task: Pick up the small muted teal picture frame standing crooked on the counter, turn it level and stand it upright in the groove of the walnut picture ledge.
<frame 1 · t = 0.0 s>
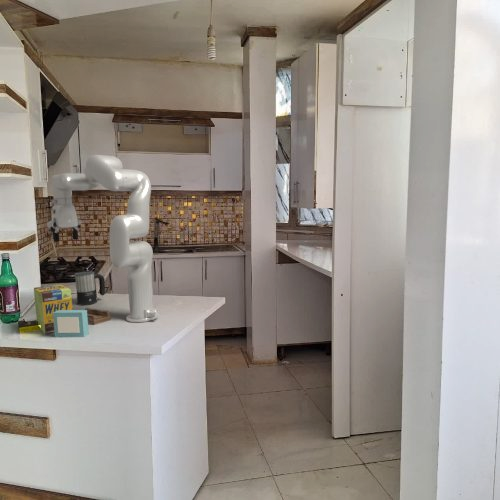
hand: (66, 240, 200), 31 cm above the countertop, tool pointing down, fingers open, 9 cm apart
protein box: (55, 328, 171), on the countertop
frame: (72, 335, 160), on the countertop
milk frother: (86, 302, 216), on the countertop
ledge: (90, 320, 180), on the countertop
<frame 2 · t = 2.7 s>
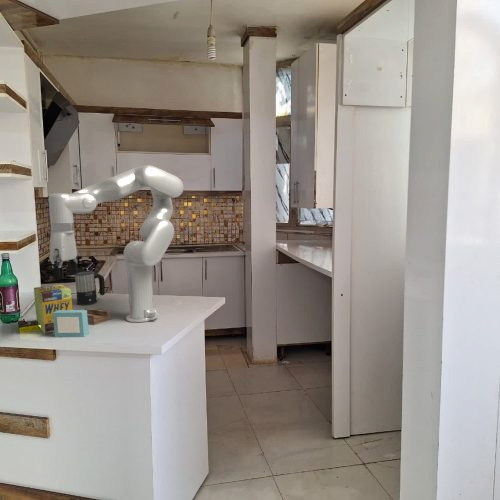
hand: (66, 276, 157), 22 cm above the countertop, tool pointing down, fingers open, 9 cm apart
nothing on the countertop moved.
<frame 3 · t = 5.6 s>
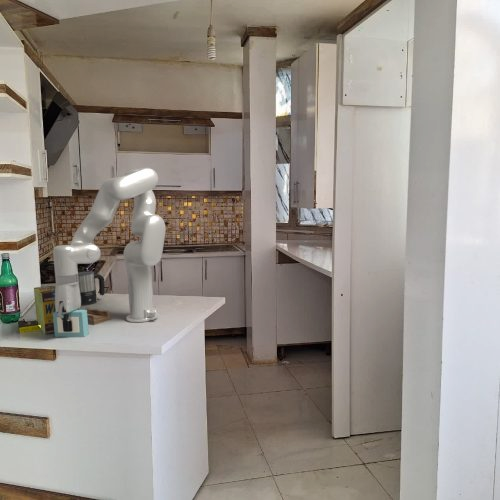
hand: (71, 329, 160), 2 cm above the countertop, tool pointing down, fingers closed on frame, 4 cm apart
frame: (71, 335, 160), on the countertop, touching gripper
everything else where it was.
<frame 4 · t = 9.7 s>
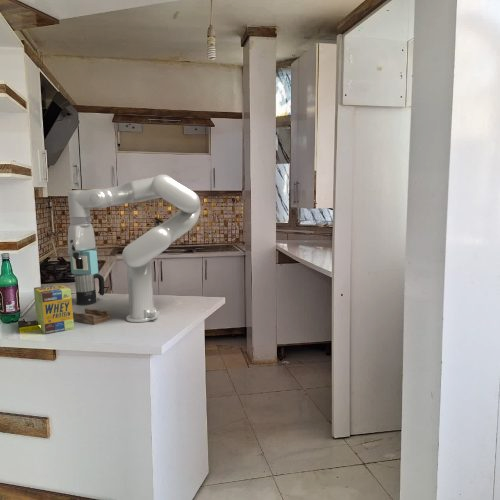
hand: (84, 267, 175), 22 cm above the countertop, tool pointing down, fingers closed on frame, 4 cm apart
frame: (84, 273, 175), point 20 cm above the countertop, touching gripper
everything else where it was.
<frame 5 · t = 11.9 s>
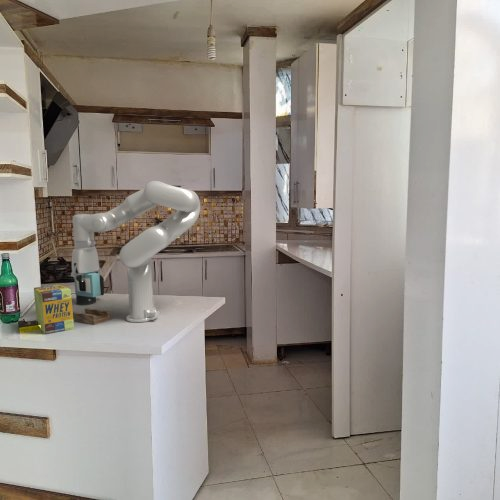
hand: (87, 289, 179), 13 cm above the countertop, tool pointing down, fingers closed on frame, 4 cm apart
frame: (88, 295, 179), point 10 cm above the countertop, touching gripper
everything else where it was.
when the fingers open (5 cm above the countertop, at t = 14.0 s): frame drops 1 cm, resting on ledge.
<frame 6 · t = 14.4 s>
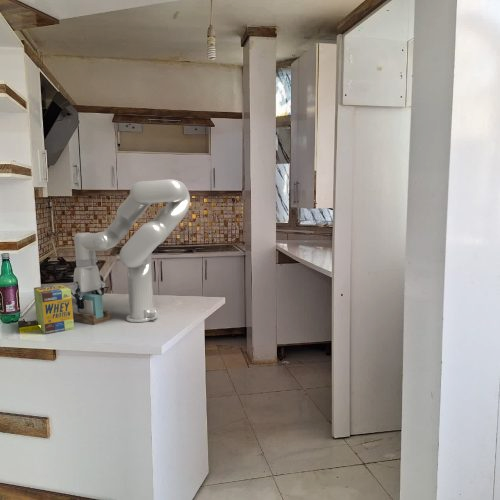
hand: (89, 306, 179), 6 cm above the countertop, tool pointing down, fingers open, 7 cm apart
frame: (90, 316, 180), point 1 cm above the countertop, touching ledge
everything else where it was.
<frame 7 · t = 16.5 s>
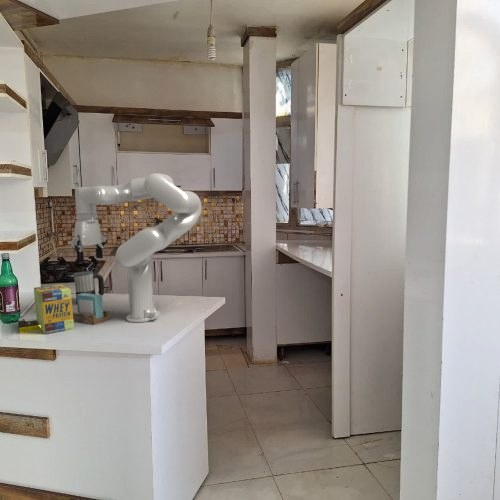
hand: (90, 259, 181), 24 cm above the countertop, tool pointing down, fingers open, 9 cm apart
nothing on the countertop moved.
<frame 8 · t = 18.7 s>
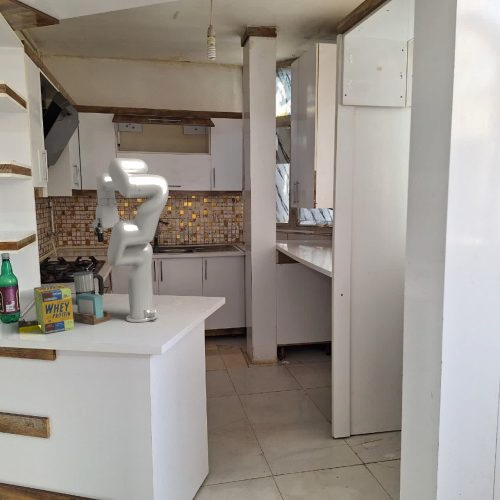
hand: (109, 240, 200), 30 cm above the countertop, tool pointing down, fingers open, 9 cm apart
nothing on the countertop moved.
at the end: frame 0.1 cm off-centre on the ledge, point 1.5 cm above the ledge's base; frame tilted 0°; the gripper is holding nothing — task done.
